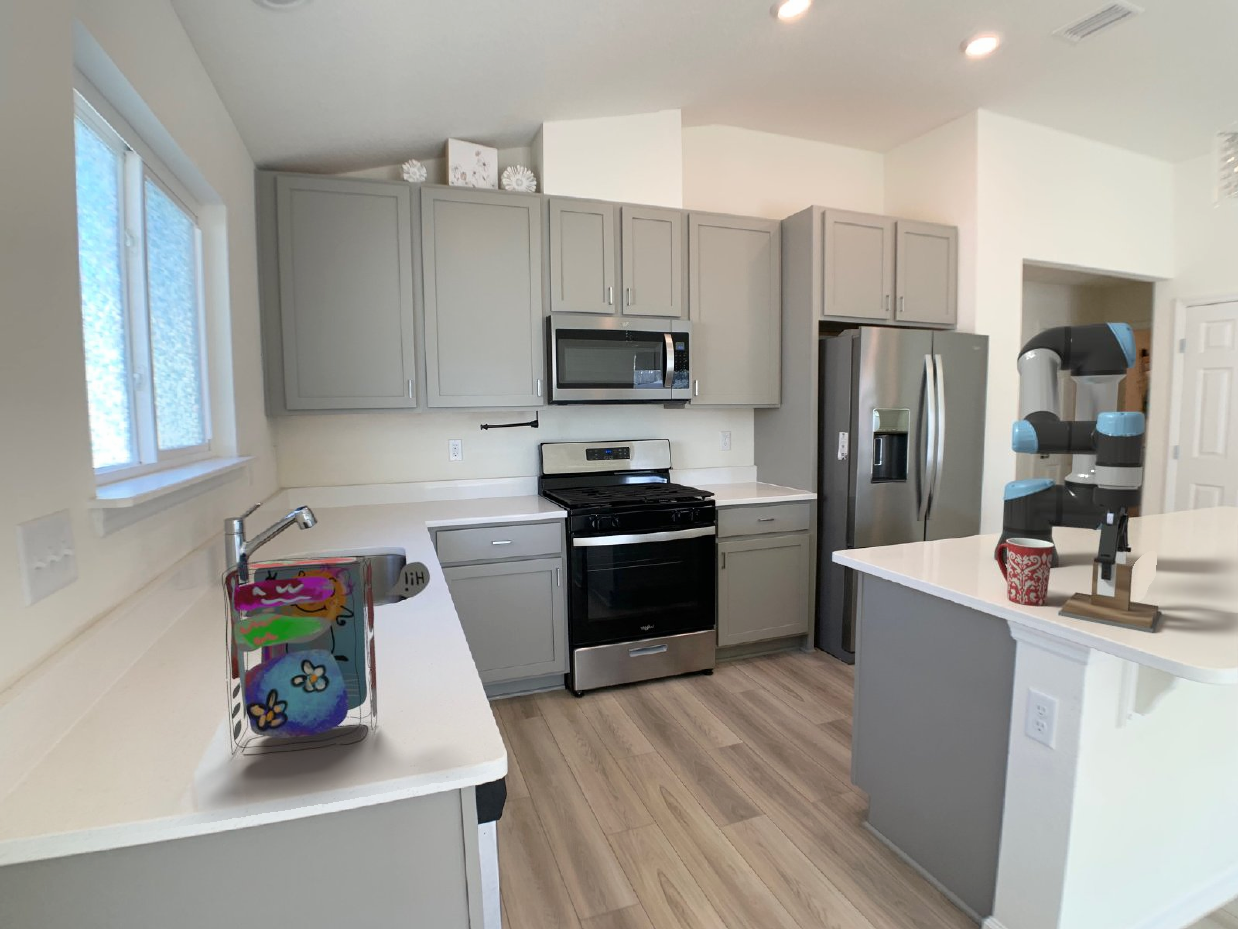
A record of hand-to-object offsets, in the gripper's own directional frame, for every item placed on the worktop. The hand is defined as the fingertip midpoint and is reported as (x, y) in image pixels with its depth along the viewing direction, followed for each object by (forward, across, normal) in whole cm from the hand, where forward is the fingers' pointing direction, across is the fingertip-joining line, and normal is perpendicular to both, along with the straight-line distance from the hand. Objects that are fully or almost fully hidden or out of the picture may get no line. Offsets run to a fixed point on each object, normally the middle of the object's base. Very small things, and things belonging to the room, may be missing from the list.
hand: (1111, 588), depth 127 cm
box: (+7, +132, -66) cm, 148 cm away
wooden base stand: (+5, 0, 0) cm, 5 cm away
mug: (+6, 0, -16) cm, 17 cm away
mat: (+6, 0, 0) cm, 6 cm away
